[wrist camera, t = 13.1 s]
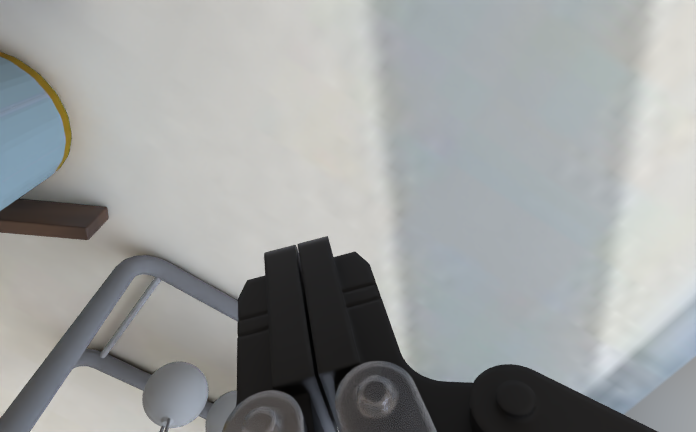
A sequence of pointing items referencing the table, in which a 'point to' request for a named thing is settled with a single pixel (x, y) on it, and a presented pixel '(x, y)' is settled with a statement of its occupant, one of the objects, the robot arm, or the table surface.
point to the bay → (52, 219)
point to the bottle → (28, 130)
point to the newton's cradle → (158, 389)
